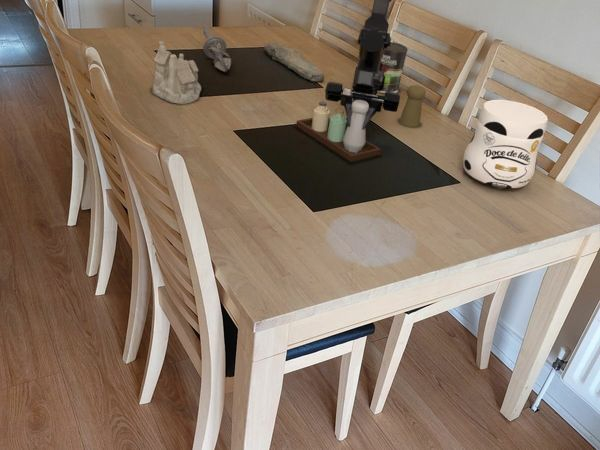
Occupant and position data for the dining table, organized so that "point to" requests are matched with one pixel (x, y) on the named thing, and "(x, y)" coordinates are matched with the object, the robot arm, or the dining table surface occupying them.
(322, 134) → the tray
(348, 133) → the salt shaker
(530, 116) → the doce de leite jar
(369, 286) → the dining table surface
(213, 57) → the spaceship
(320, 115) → the cream bottle
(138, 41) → the dining table surface
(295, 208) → the dining table surface
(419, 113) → the olive pawn
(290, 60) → the long grey stone
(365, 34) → the robot arm
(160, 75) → the ceramic cottage
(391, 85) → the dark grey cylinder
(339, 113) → the sage bottle
